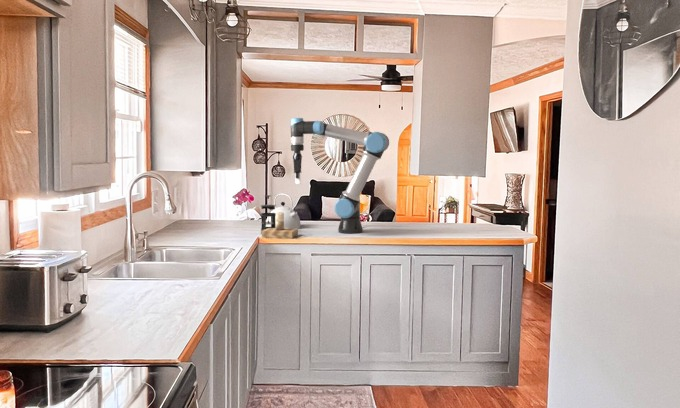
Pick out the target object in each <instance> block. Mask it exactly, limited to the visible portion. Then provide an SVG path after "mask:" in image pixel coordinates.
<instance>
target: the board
mask: <svg viewBox="0 0 680 408" xmlns="http://www.w3.org/2000/svg"><path fill="white" fill-rule="evenodd" d="M295 236H296V237H298V236H299V229H298V228H284V230H283V231H278V230H276V228H267V229H265V230H263V231H262V234H261V239H286V240H287V239H289V240H293V239H294V238H296V237H295Z"/></svg>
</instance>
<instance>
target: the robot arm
mask: <svg viewBox="0 0 680 408" xmlns="http://www.w3.org/2000/svg"><path fill="white" fill-rule="evenodd" d="M304 135H318V136H323V137H327V138H332V139H337V140H341V141H344V142H348V143H353V144H358V145H361V146H363V147H362V150H361V151H362V156H361V158H360V159H359V163H358V164H357V166H356V168H355V171H354V173H353V175H352V177H351V179H350V180H349V181H350V182H349V183H348V186H347V187H346V190H344V191H341V194H340V195H339V198H338V199H337V200H336V202H335V203H334V212H335V214H336V215H337V217H339V218H340V222H339V225H338V229H337V230H338V231H337V232H338V233H340V234H361V233H363V232H364V231H363V230H364V229H363V224H362V222H361V221H362V220H361V213H360V212H361V198H360V195H361V193H362V191H363V189H364V188H365V185H366V183H367V181H368V179H369V177H370V175H371V173H372V171H373V169H374V167H375V165H376V163H377V161H379V160H380V159H382V156H383V154H384V152H385V151H386V150H387V149H388V148H389V146H390V139H389V136H387V135H386V134H385V133H383V132H380V131H373V132H370V131H369V132H364V131H359V130H355V129H352V128H347V127H342V126H337V125H334V124H331V123H330V124H329V123H325V122H323V121H320V120H312V121H311V120H307V121H306V120H304V118H303V117H292V118H291V119H290V139H289V140H290V143H291V145H290V150H291V151H292V152H293V151H294V153H293V156H292V159H293V173H294V174H295V175H294V177H295V178H294V180H295V181H294V182H295V185H300V184H301V173H302V161H303V159H302V158H303V156H302V153H301V152H302V151H305V150H304V149H305V146H304V144H305V143H304V140H305V138H304Z"/></svg>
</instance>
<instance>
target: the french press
mask: <svg viewBox="0 0 680 408" xmlns="http://www.w3.org/2000/svg"><path fill="white" fill-rule="evenodd" d="M265 197H267V200H269V198H270V197H271V195H270V194H269V195H268V194H267V195H265ZM275 206H276V207H277V205H274V204H262V205H260V207H261V210H263V209H264V210H265V209H267V212H264V213H263V212H261V213H260V216H261V217H260V218H261V228H260V234H261V235H262V231H263V230H265V229H267V228H276V227H275V216H276V213H270V212H269V210H271V211H273V210H274V209H275ZM266 217H268V222H266V220H267V218H266ZM269 217H271V222H269ZM269 224H271V227H266V225H269Z"/></svg>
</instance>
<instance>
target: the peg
mask: <svg viewBox="0 0 680 408" xmlns="http://www.w3.org/2000/svg"><path fill="white" fill-rule="evenodd" d="M276 230H278V231H283V230H284V213H282V212H278V213H276Z"/></svg>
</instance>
